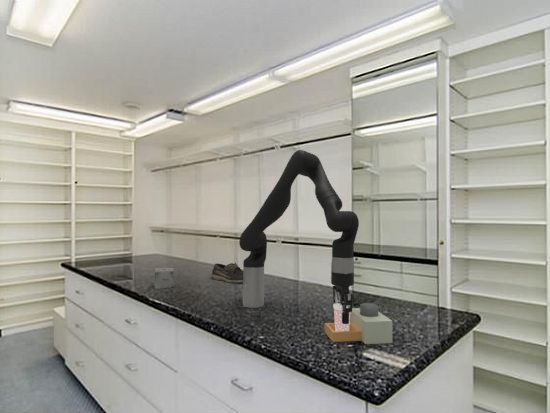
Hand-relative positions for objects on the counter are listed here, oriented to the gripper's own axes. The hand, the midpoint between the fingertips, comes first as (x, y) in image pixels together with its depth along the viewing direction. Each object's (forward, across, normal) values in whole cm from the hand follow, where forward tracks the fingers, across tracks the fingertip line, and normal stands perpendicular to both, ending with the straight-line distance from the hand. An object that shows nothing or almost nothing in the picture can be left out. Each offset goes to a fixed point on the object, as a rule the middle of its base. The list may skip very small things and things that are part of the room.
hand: (342, 320), depth 120 cm
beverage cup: (+4, 0, 0) cm, 4 cm away
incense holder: (+6, -84, -71) cm, 110 cm away
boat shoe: (+6, -99, -36) cm, 105 cm away
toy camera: (+5, 0, +5) cm, 7 cm away
